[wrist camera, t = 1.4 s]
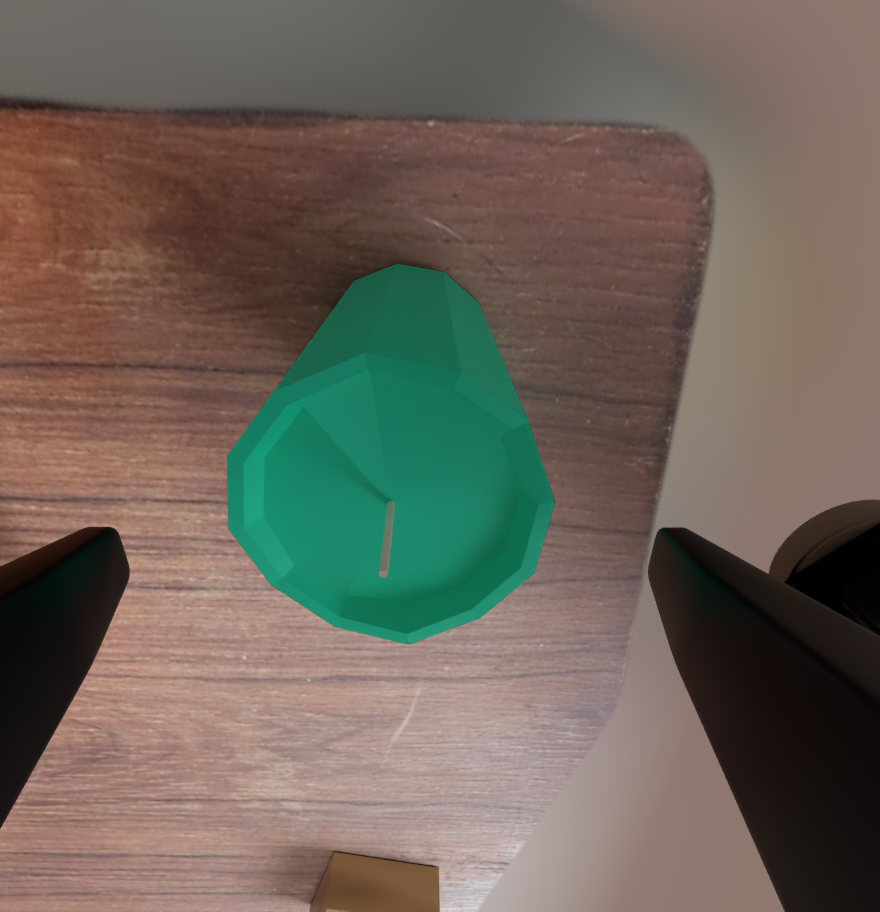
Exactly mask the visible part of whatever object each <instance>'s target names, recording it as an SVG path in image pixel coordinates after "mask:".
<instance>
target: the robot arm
mask: <svg viewBox="0 0 880 912" xmlns="http://www.w3.org/2000/svg"><path fill="white" fill-rule="evenodd" d="M129 575H130V569H129V564H128V561H127V558H126V554H125V551H124V548H123V545H122V542H121V539H120V536H119V533H118V532H117V531H116V529H114V528H112V527H87V528H84V529H81V530H79V531H77V532H75V533H73V534H70V535H68V536H66V537H64V538H62V539H59V540H57V541H55V542H53V543H51V544H49V545H46V546H44V547H42V548H40V549H38V550H35V551H33V552H31V553H29V554H27V555H25V556H22V557H20V558H18V559H16V560H14V561H11V562H9V563H7V564H5V565H3V566H0V828H1V827H2V825H3V823H4V821H5V820H6V818H7V816H8V814H9V812H10V811H11V809H12V807H13V805H14V803H15V802H16V800H17V798H18V796H19V795H20V793H21V791H22V789H23V787H24V786H25V784H26V782H27V780H28V778H29V777H30V775H31V773H32V771H33V770H34V768H35V766H36V764H37V762H38V761H39V759H40V757H41V755H42V754H43V752H44V750H45V748H46V746H47V745H48V743H49V741H50V739H51V737H52V736H53V734H54V732H55V730H56V729H57V727H58V725H59V723H60V721H61V720H62V718H63V716H64V714H65V712H66V711H67V709H68V707H69V705H70V704H71V702H72V700H73V698H74V696H75V695H76V693H77V691H78V689H79V687H80V686H81V684H82V682H83V680H84V678H85V677H86V675H87V673H88V671H89V669H90V667H91V665H92V663H93V661H94V659H95V657H96V655H97V653H98V650H99V648H100V646H101V644H102V641H103V639H104V637H105V634H106V632H107V630H108V627H109V625H110V623H111V620H112V618H113V616H114V613H115V611H116V609H117V606H118V604H119V602H120V599H121V597H122V595H123V592H124V590H125V588H126V585H127V583H128V580H129ZM648 577H649V582H650V585H651V588H652V591H653V594H654V597H655V601H656V604H657V607H658V610H659V614H660V617H661V620H662V623H663V626H664V630H665V633H666V636H667V639H668V642H669V646H670V649H671V652H672V655H673V657H674V660H675V663H676V665H677V668H678V670H679V673H680V675H681V677H682V680H683V682H684V684H685V686H686V689H687V691H688V693H689V695H690V697H691V700H692V702H693V704H694V707H695V709H696V711H697V714H698V716H699V718H700V720H701V723H702V725H703V727H704V729H705V732H706V734H707V736H708V739H709V741H710V743H711V745H712V747H713V750H714V752H715V754H716V757H717V759H718V761H719V763H720V765H721V768H722V770H723V773H724V775H725V777H726V779H727V781H728V784H729V786H730V788H731V791H732V793H733V795H734V798H735V800H736V802H737V804H738V807H739V809H740V811H741V813H742V816H743V818H744V820H745V823H746V825H747V827H748V829H749V832H750V834H751V836H752V838H753V841H754V843H755V845H756V847H757V850H758V852H759V854H760V857H761V859H762V861H763V863H764V866H765V868H766V870H767V872H768V875H769V877H770V879H771V882H772V884H773V886H774V888H775V891H776V893H777V895H778V897H779V899H780V902H781V904H782V906H783V909H784V911H785V912H880V523H879V524H877V525H876V526H874V527H872V528H871V529H869V530H867V531H866V532H864V533H862V534H861V535H859V536H857V537H856V538H854V539H852V540H851V541H849V542H847V543H846V544H844V545H842V546H841V547H839V548H837V549H836V550H834V551H833V552H831V553H829V554H828V555H826V556H824V557H823V558H821V559H819V560H818V561H816V562H814V563H813V564H811V565H809V566H808V567H806V568H804V569H803V570H801V571H799V572H798V573H796V574H795V575H793V576H791V577H790V578H788V579H787V580H786V581H785V582H784V583H783V582H782V581H780V580H778V579H776V578H774V577H773V576H771V575H769V574H767V573H765V572H763V571H762V570H760V569H758V568H756V567H754V566H753V565H751V564H749V563H748V562H746V561H744V560H742V559H740V558H739V557H737V556H735V555H733V554H731V553H729V552H728V551H726V550H724V549H722V548H721V547H719V546H717V545H715V544H713V543H712V542H710V541H708V540H706V539H704V538H702V537H701V536H699V535H697V534H695V533H694V532H692V531H690V530H688V529H686V528H662V529H660V530H659V531H658V532H657V534H656V538H655V542H654V546H653V550H652V554H651V558H650V562H649V567H648Z"/></svg>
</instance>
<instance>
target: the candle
mask: <svg viewBox="0 0 880 912" xmlns="http://www.w3.org/2000/svg"><path fill="white" fill-rule="evenodd" d="M227 489H228V529H229V530H230V532H231V533H232V534H233V536H234V537H235V538H236V540H237V541H238V542H239V544H240V545H241V546H242V547H243V549H244V550H245V551H246V553H247V554H248V555H249V557H250V558H251V559H252V561H253V562H254V563H255V564H256V566H257V567H258V568H259V570H260V571H261V572H262V574H263V575H264V576H265V578H266V579H267V580H268V581H269V583H270V584H271V585H272V586H273V587H275V588H276V589H278V590H280V591H281V592H283V593H284V594H286V595H287V596H289V597H290V598H292V599H293V600H295V601H296V602H298V603H299V604H301V605H302V606H304V607H305V608H307V609H308V610H310V611H311V612H313V613H314V614H316V615H318V616H319V617H321V618H322V619H324V620H325V621H327V622H328V623H330V624H331V625H333V626H334V627H338V628H342V629H346V630H350V631H354V632H359V633H363V634H367V635H371V636H375V637H380V638H384V639H388V640H392V641H396V642H400V643H405V644H412V643H415V642H417V641H420V640H423V639H425V638H428V637H431V636H433V635H436V634H439V633H441V632H444V631H447V630H449V629H452V628H455V627H457V626H460V625H463V624H465V623H468V622H471V621H473V620H476V619H479V618H481V617H482V616H483V615H484V614H486V613H487V612H488V611H489V610H490V609H492V608H493V607H494V606H495V605H496V604H498V603H499V602H500V601H501V600H502V599H504V598H505V597H506V596H507V595H508V594H510V593H511V592H512V591H513V590H514V589H516V588H517V587H518V586H519V585H520V584H521V583H523V582H524V581H525V580H526V579H527V578H529V577H530V576H531V575H532V574H533V573H535V569H536V566H537V562H538V559H539V556H540V552H541V549H542V545H543V542H544V538H545V535H546V532H547V528H548V525H549V521H550V518H551V515H552V511H553V508H554V504H555V501H554V498H553V495H552V492H551V489H550V486H549V483H548V480H547V477H546V474H545V471H544V468H543V465H542V462H541V458H540V455H539V452H538V449H537V446H536V443H535V440H534V437H533V434H532V431H531V428H530V425H529V422H528V419H527V417H526V415H525V412H524V410H523V408H522V405H521V403H520V400H519V398H518V396H517V393H516V391H515V388H514V386H513V384H512V381H511V379H510V377H509V374H508V372H507V369H506V367H505V365H504V362H503V360H502V357H501V355H500V353H499V350H498V348H497V345H496V343H495V341H494V338H493V336H492V334H491V331H490V329H489V326H488V324H487V322H486V319H485V317H484V314H483V312H482V310H481V307H480V305H479V303H478V301H477V300H475V299H474V298H473V297H472V296H471V295H470V294H468V293H467V292H466V291H465V290H464V289H463V288H462V287H460V286H459V285H458V284H457V283H456V282H455V281H453V280H452V279H451V278H450V277H449V276H448V275H447V274H445V273H444V272H442V271H436V270H431V269H425V268H419V267H413V266H408V265H402V264H395V265H392V266H390V267H387V268H385V269H382V270H380V271H377V272H375V273H372V274H370V275H367V276H365V277H362V278H360V279H357V280H355V281H353V283H352V284H351V285H350V287H349V288H348V289H347V291H346V292H345V294H344V295H343V296H342V298H341V299H340V300H339V302H338V303H337V305H336V306H335V307H334V309H333V310H332V311H331V313H330V314H329V316H328V317H327V318H326V320H325V321H324V323H323V324H322V325H321V327H320V328H319V329H318V331H317V332H316V334H315V335H314V336H313V338H312V339H311V340H310V342H309V343H308V345H307V346H306V347H305V349H304V350H303V352H302V353H301V354H300V356H299V357H298V358H297V360H296V361H295V363H294V364H293V365H292V367H291V368H290V370H289V371H288V372H287V374H286V375H285V376H284V378H283V379H282V381H281V382H280V383H279V385H278V386H277V387H276V389H275V390H274V392H273V393H272V394H271V396H270V397H269V399H268V400H267V401H266V403H265V404H264V405H263V407H262V408H261V410H260V411H259V412H258V414H257V415H256V417H255V418H254V419H253V421H252V422H251V423H250V425H249V426H248V428H247V429H246V430H245V432H244V433H243V434H242V436H241V437H240V439H239V440H238V441H237V443H236V444H235V446H234V447H233V448H232V450H231V451H230V452H229V454H228V455H227Z"/></svg>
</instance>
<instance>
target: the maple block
mask: <svg viewBox="0 0 880 912" xmlns="http://www.w3.org/2000/svg"><path fill="white" fill-rule="evenodd" d="M310 912H440V904H439V868H437V867H430V866H423V865H417V864H410V863H404V862H397V861H390V860H384V859H377V858H371V857H364V856H358V855H351V854H344V853H338V852H334V853H333V856H332V858H331V860H330V862H329V865H328V867H327V869H326V872H325V874H324V876H323V878H322V881H321V883H320V885H319V887H318V890H317V892H316V894H315V896H314V899H313V901H312V903H311V906H310Z"/></svg>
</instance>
